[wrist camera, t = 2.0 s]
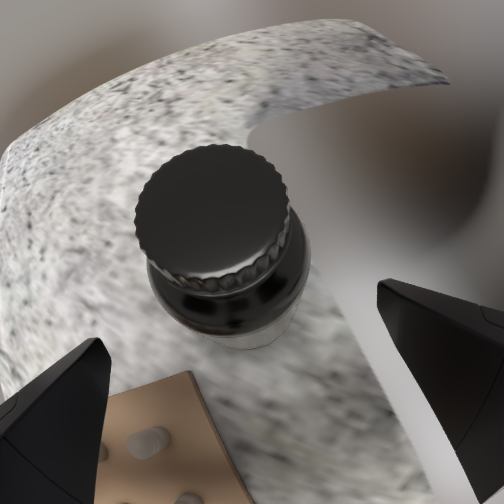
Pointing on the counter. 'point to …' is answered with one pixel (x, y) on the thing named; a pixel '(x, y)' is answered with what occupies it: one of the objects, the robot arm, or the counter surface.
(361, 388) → the counter surface
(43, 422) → the robot arm
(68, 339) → the counter surface
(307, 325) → the counter surface
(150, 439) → the peg stand
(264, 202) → the supplement bottle
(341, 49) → the counter surface
